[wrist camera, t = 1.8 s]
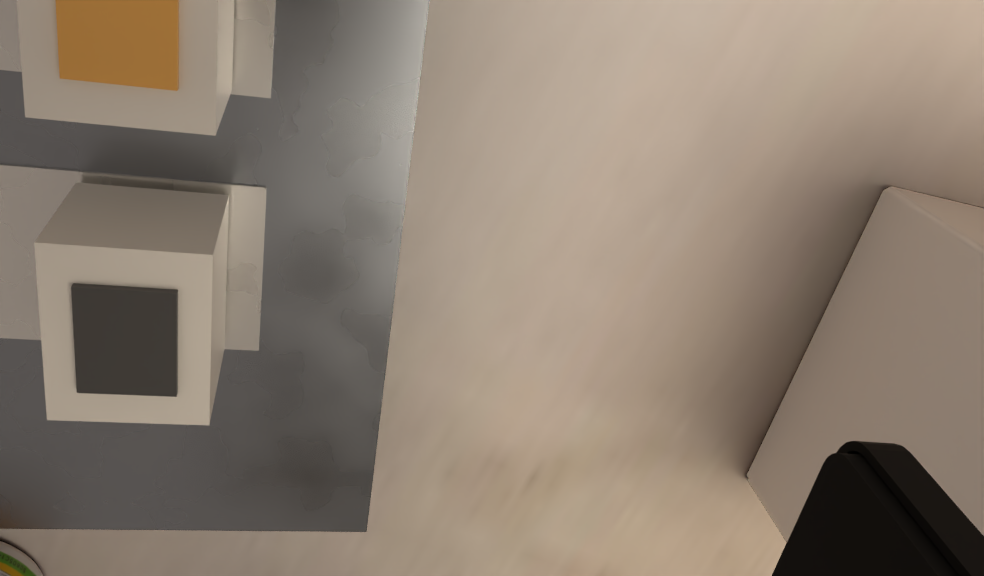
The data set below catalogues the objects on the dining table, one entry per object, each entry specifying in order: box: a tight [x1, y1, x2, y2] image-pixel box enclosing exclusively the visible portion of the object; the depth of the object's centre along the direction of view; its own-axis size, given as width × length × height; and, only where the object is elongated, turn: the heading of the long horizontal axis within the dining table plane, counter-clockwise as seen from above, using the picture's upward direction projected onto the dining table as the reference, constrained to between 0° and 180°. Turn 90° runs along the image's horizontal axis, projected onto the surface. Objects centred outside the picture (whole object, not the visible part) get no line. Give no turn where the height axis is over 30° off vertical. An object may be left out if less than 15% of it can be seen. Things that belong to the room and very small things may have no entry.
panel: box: [0, 0, 430, 532], centre depth 25 cm, size 20×28×3 cm
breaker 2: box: [34, 182, 229, 425], centre depth 24 cm, size 4×5×4 cm
